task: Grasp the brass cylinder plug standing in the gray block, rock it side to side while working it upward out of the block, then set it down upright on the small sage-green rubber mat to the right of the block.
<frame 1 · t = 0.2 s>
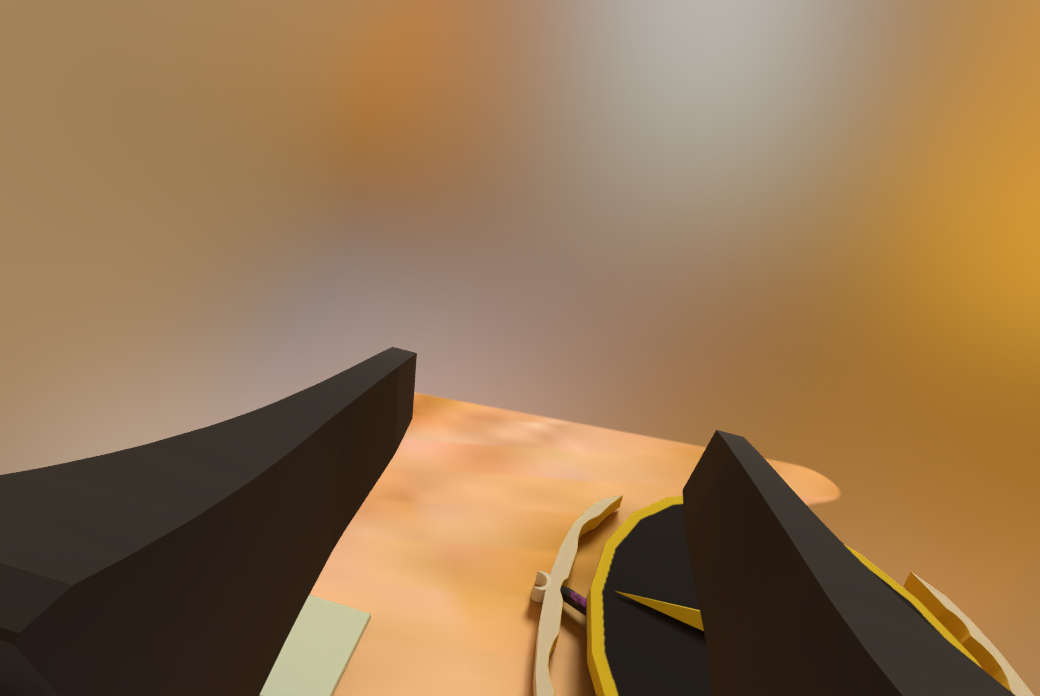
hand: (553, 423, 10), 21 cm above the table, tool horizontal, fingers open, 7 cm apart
mat: (287, 646, 24), on the table
wall ornament: (765, 688, 26), on the table
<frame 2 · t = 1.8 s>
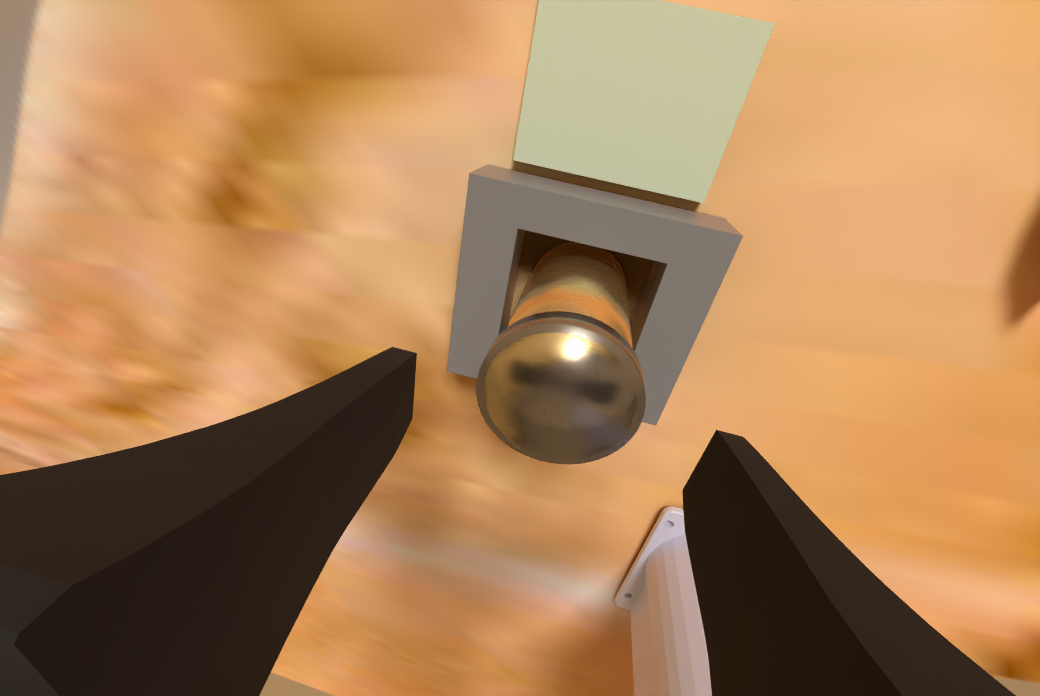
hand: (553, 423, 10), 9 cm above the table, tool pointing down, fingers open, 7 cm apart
mat: (629, 99, 14), on the table
gray block: (577, 288, 18), on the table
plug: (569, 331, 15), in the gray block
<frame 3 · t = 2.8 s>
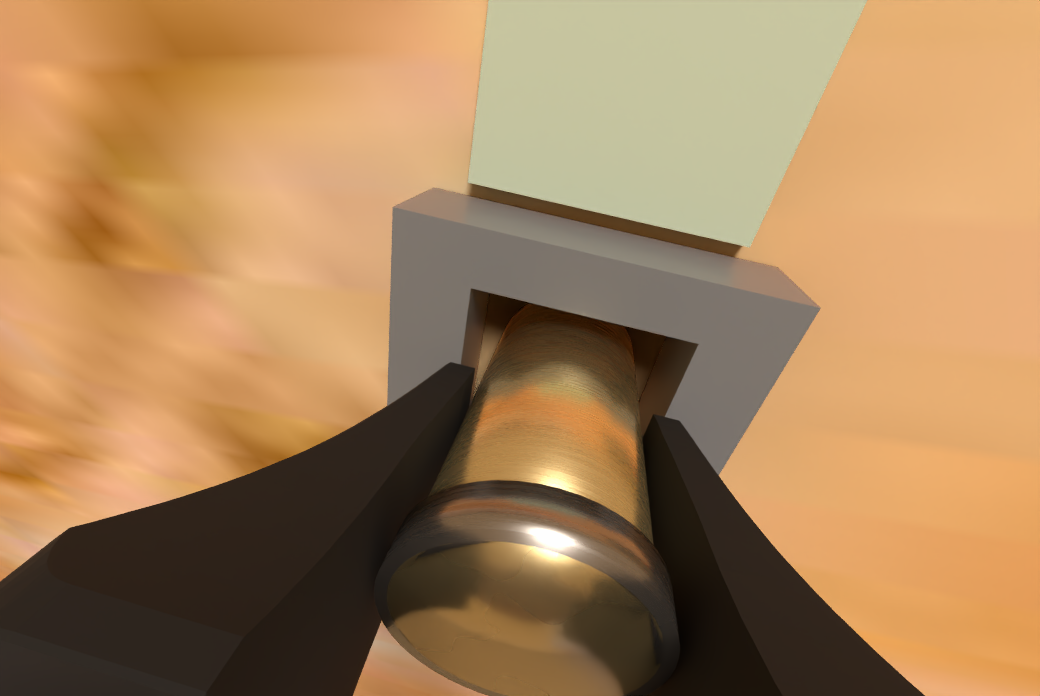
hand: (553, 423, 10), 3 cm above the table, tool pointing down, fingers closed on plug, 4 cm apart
mat: (639, 92, 9), on the table
gray block: (565, 356, 13), on the table
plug: (550, 444, 10), in the gray block, touching gripper
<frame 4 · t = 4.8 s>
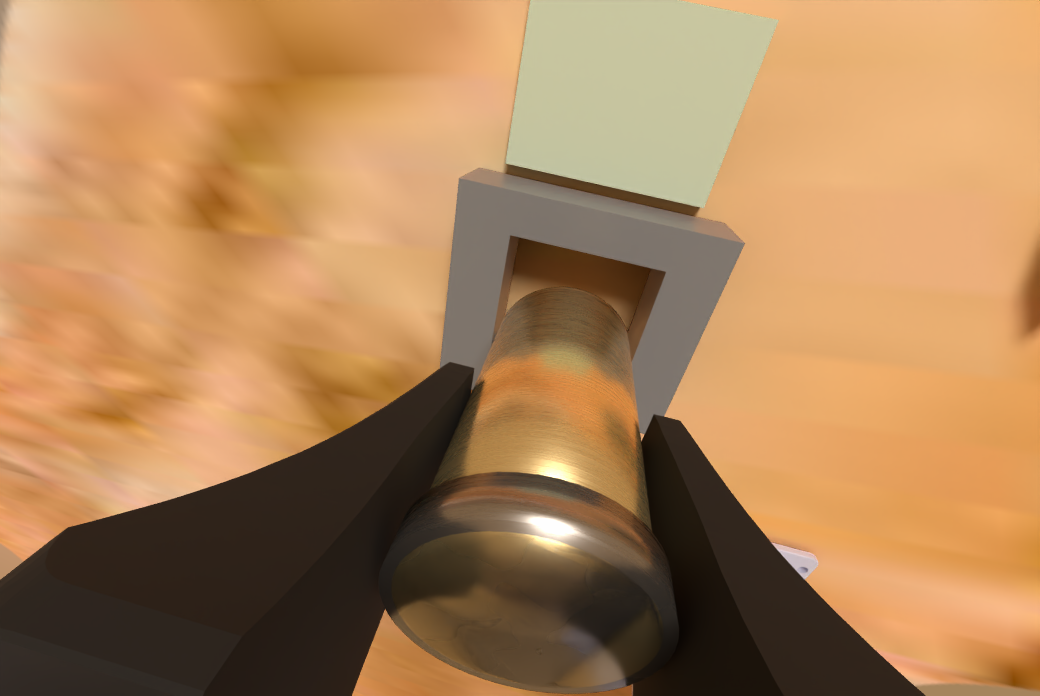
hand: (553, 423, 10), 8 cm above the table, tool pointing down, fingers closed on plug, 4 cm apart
mat: (625, 100, 14), on the table
gray block: (573, 295, 17), on the table
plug: (548, 436, 10), point 9 cm above the table, touching gripper
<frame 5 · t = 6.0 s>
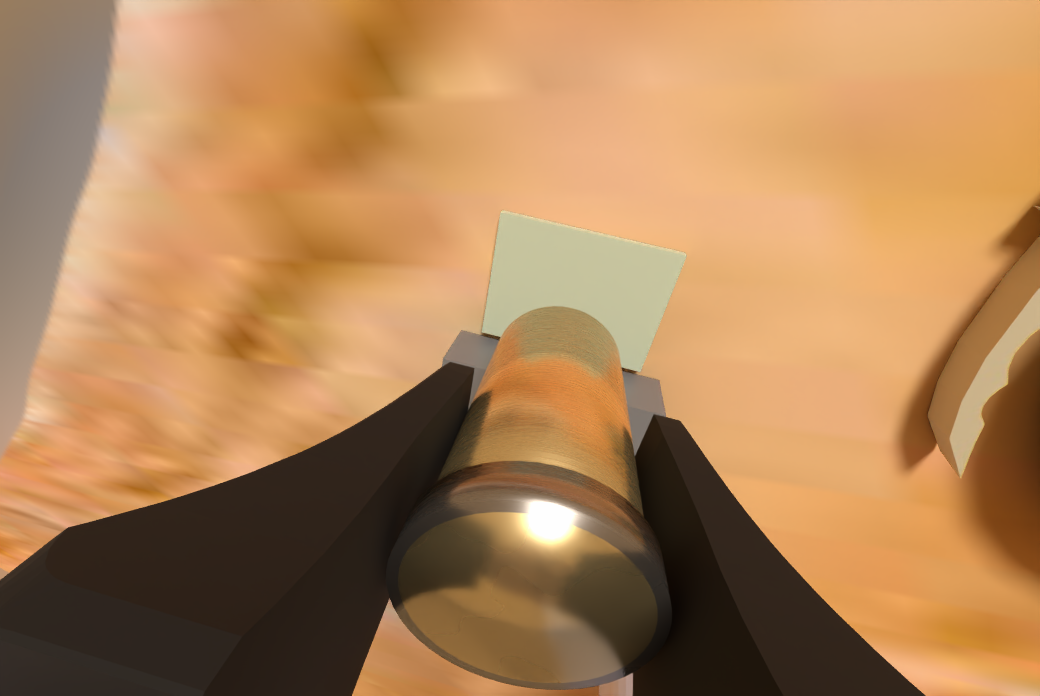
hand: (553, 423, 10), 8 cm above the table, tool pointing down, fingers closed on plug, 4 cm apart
mat: (575, 293, 17), on the table
gray block: (540, 422, 21), on the table
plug: (545, 443, 10), point 9 cm above the table, touching gripper
when the fingers open (5 cm above the table, at t = 7.0 s): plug stays where it is, resting on mat.
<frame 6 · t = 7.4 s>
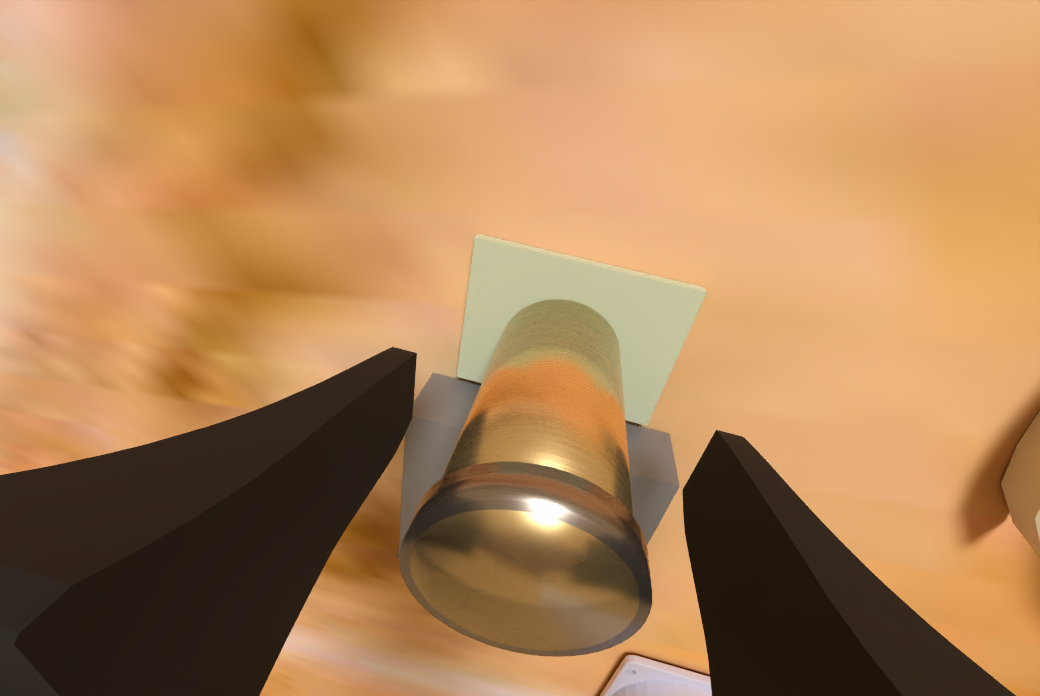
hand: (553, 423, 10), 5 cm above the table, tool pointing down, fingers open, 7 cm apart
mat: (568, 333, 14), on the table
gray block: (528, 476, 18), on the table
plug: (545, 434, 11), on the mat
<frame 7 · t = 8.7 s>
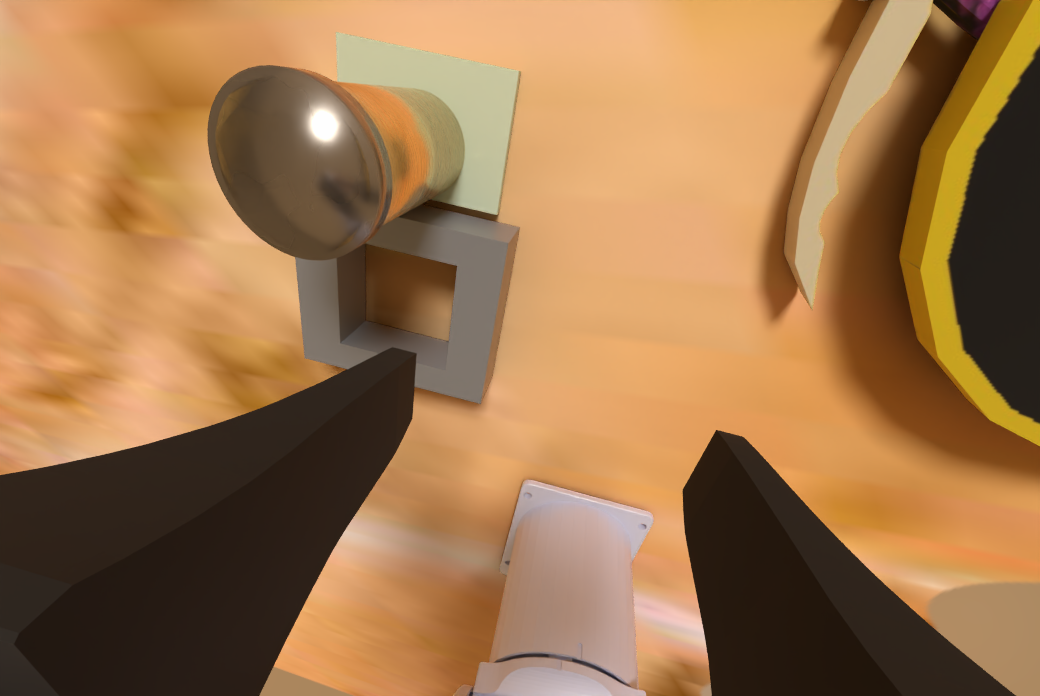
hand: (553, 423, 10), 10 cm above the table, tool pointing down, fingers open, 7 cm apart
mat: (425, 129, 17), on the table
gray block: (415, 286, 21), on the table
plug: (370, 156, 14), on the mat
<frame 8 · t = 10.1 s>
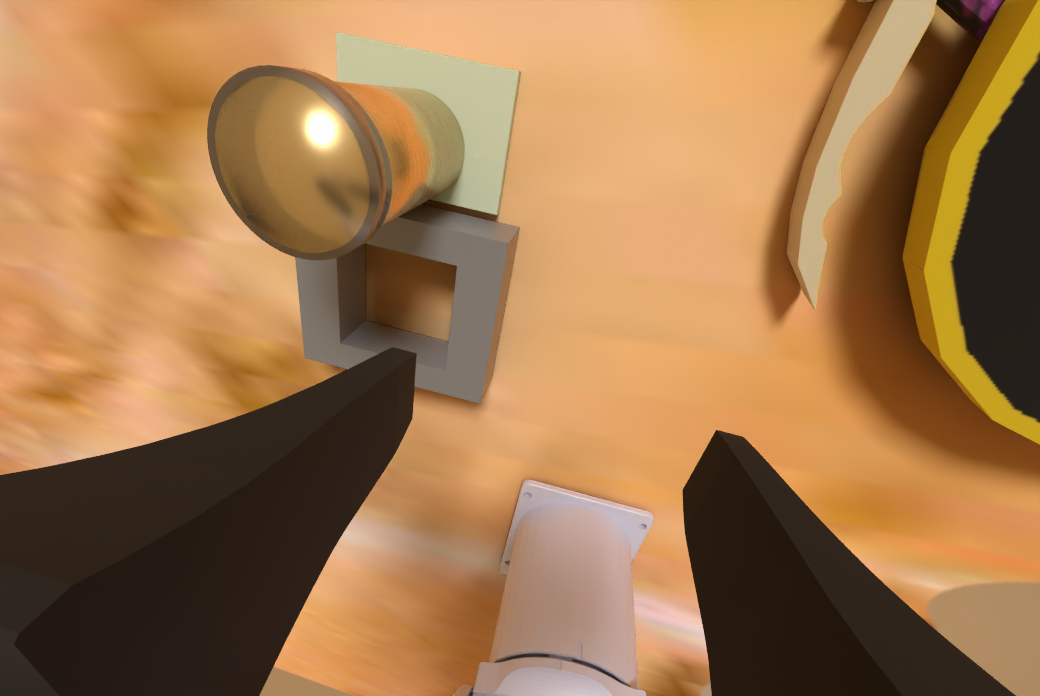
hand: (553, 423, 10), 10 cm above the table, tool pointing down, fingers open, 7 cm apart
mat: (425, 129, 17), on the table
gray block: (415, 287, 21), on the table
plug: (370, 156, 14), on the mat
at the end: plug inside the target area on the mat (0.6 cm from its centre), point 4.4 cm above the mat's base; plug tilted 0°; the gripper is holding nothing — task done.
